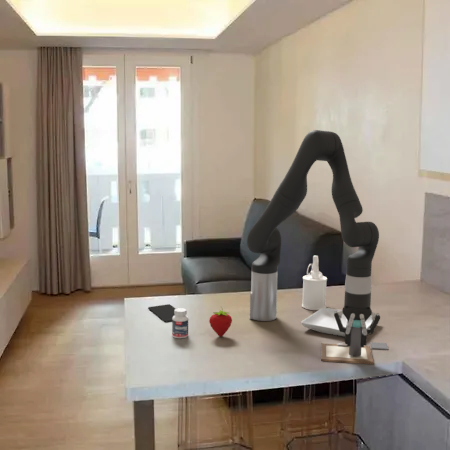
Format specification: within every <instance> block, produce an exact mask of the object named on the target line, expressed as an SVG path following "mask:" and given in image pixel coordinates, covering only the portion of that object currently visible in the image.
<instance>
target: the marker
mask: <svg viewBox="0 0 450 450" xmlns="http://www.w3.org/2000/svg"><path fill="white" fill-rule="evenodd" d="M361 345H362V326H361V320H353V324H352V327H351V330H350V346H349V355H351V356H354V357H358V356H361Z"/></svg>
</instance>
